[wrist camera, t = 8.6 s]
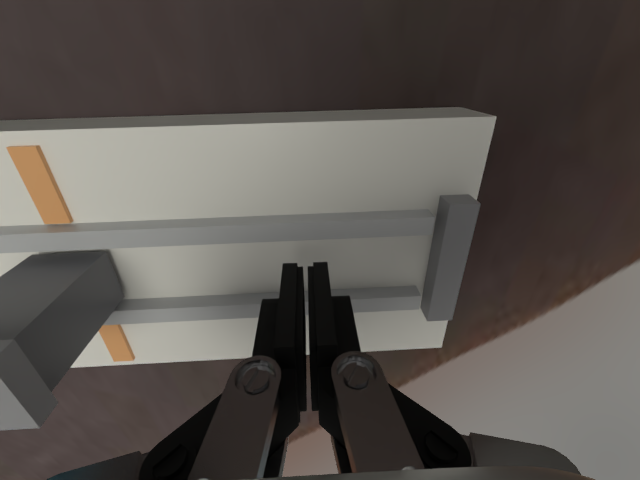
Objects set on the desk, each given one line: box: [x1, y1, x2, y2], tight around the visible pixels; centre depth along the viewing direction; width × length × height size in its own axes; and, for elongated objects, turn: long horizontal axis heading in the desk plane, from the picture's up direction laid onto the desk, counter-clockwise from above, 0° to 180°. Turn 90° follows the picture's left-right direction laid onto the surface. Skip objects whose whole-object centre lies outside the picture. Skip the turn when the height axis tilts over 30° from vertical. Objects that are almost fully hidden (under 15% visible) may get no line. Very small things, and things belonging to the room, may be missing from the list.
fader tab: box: [0, 251, 125, 430], centre depth 11 cm, size 4×3×6 cm
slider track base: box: [0, 107, 497, 368], centre depth 15 cm, size 26×12×4 cm, turn 91°
